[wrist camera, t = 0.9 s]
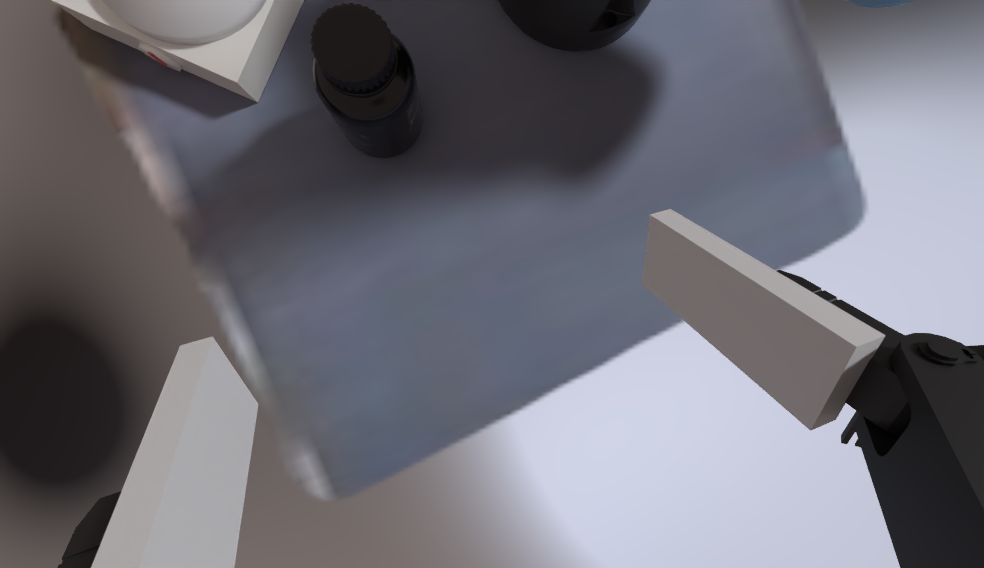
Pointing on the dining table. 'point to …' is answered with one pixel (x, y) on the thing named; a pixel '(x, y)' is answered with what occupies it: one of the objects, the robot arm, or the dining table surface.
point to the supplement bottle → (366, 80)
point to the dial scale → (199, 35)
